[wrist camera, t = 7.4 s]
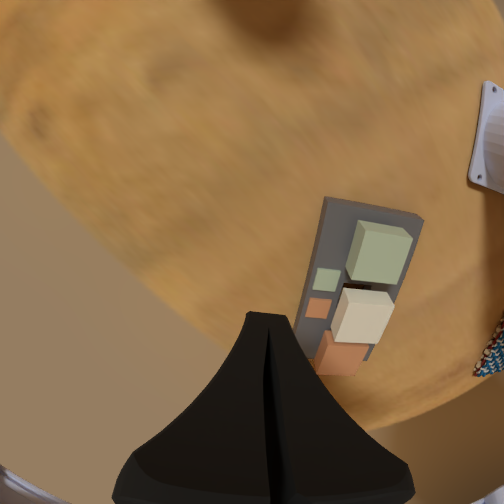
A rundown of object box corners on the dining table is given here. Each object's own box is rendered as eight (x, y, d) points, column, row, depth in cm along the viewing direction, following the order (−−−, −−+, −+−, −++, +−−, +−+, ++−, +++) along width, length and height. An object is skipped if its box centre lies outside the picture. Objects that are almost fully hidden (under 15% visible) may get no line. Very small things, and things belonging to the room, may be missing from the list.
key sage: (395, 220, 18) (413, 238, 16) (382, 262, 20) (396, 284, 17) (352, 212, 18) (365, 230, 16) (340, 257, 20) (351, 279, 17)
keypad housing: (416, 214, 19) (425, 221, 17) (363, 351, 25) (367, 362, 23) (324, 196, 19) (328, 202, 17) (288, 346, 24) (288, 358, 23)
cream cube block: (381, 281, 20) (394, 306, 17) (367, 317, 21) (377, 343, 18) (339, 277, 20) (349, 302, 17) (327, 314, 21) (334, 341, 18)
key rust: (360, 322, 22) (369, 347, 20) (348, 350, 24) (354, 375, 21) (322, 319, 22) (327, 345, 20) (312, 348, 24) (316, 374, 21)
